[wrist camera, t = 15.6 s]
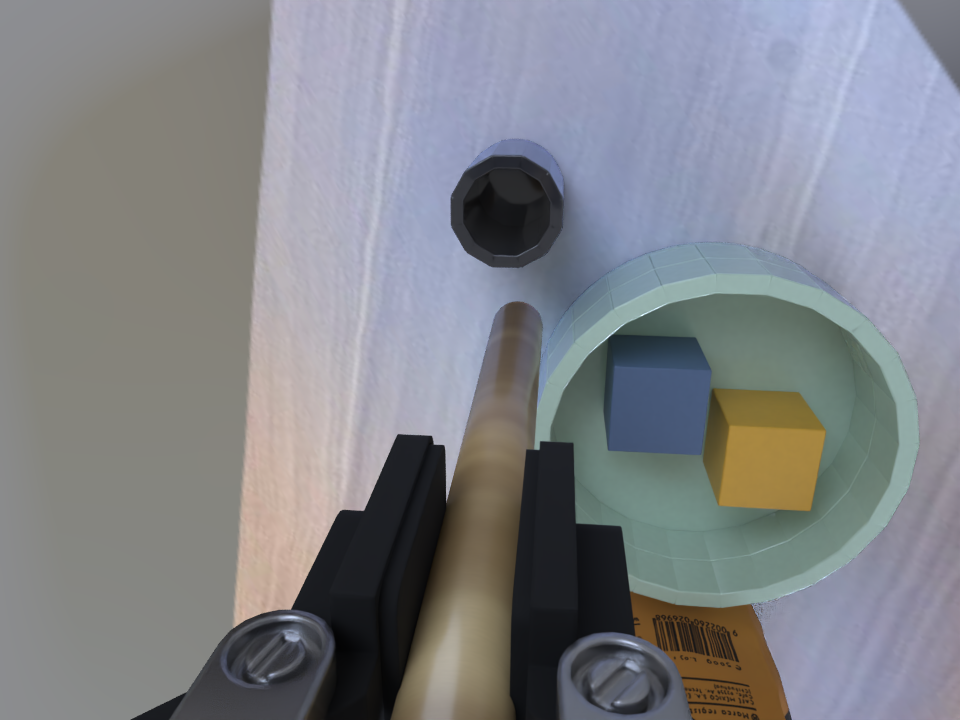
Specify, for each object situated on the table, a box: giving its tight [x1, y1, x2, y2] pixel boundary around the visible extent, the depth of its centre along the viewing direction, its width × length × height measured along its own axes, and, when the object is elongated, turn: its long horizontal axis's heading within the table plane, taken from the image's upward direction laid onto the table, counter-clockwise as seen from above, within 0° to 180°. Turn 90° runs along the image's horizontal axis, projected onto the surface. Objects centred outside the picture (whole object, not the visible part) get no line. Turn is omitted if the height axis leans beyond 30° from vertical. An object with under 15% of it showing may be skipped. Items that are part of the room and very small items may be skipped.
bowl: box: [534, 242, 920, 608], centre depth 34 cm, size 16×16×6 cm
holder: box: [451, 139, 564, 268], centre depth 31 cm, size 4×4×6 cm
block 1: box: [603, 334, 712, 455], centre depth 34 cm, size 4×4×4 cm
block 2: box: [703, 388, 826, 511], centre depth 34 cm, size 4×4×4 cm
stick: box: [391, 302, 543, 720], centre depth 14 cm, size 1×1×16 cm
